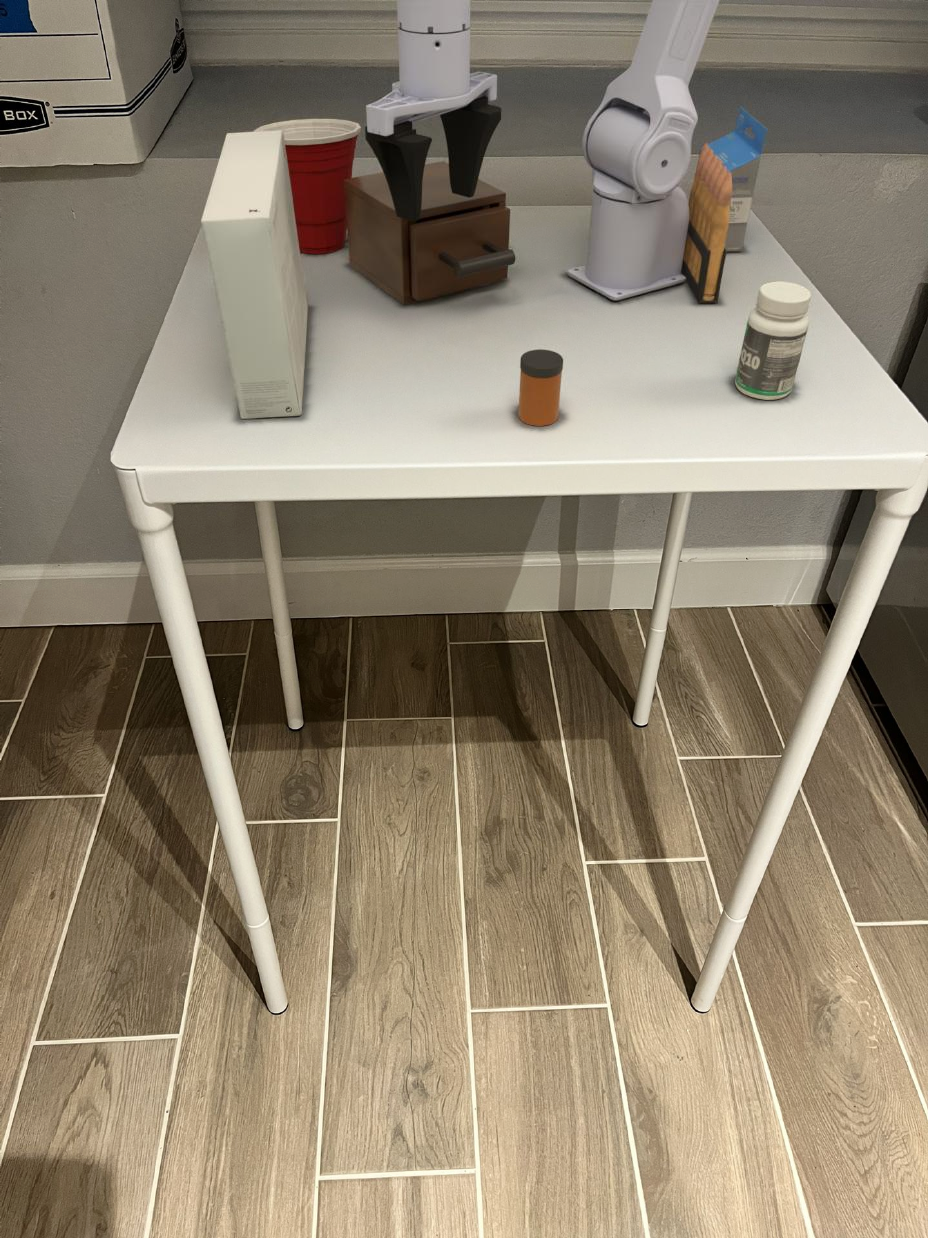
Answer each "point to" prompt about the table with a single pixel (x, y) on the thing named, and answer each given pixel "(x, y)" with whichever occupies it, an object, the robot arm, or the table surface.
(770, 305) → the pill bottle
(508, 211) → the drawer
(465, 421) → the table surface
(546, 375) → the bottle
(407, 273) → the cabinet
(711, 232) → the ammunition clip
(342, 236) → the plastic cup
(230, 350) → the skincare box
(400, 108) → the robot arm
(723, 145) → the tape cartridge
